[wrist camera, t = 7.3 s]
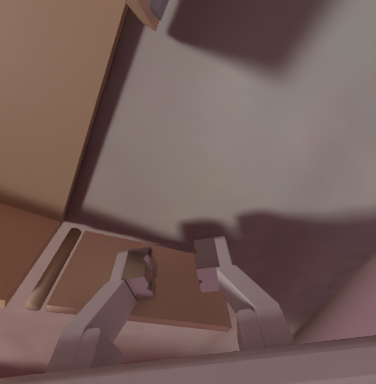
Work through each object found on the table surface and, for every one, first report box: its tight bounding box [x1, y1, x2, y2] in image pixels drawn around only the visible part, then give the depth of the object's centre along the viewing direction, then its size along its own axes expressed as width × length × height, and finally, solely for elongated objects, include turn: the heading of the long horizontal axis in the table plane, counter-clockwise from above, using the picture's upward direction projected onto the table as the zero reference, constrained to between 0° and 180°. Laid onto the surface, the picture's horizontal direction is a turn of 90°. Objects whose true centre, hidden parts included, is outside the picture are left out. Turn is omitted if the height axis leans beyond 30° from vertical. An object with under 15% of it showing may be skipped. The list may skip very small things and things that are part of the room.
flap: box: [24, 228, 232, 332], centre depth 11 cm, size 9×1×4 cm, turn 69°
